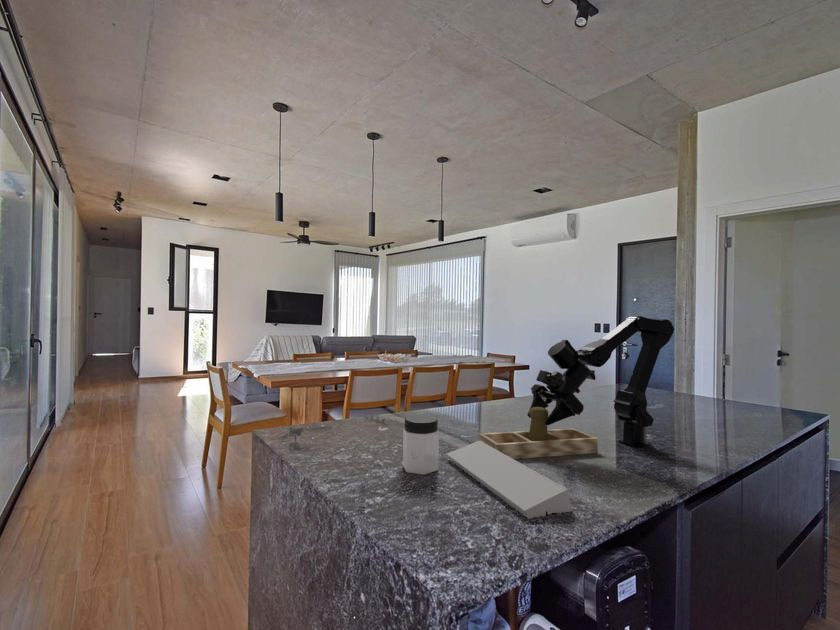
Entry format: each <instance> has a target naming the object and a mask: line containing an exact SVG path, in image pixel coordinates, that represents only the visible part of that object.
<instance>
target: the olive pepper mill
mask: <svg viewBox="0 0 840 630" xmlns="http://www.w3.org/2000/svg"><path fill="white" fill-rule="evenodd" d="M529 409H530V408H529ZM528 412H529V415H530V417H531V418H530V425H529V430H528V431H529V437H528V439H529V440H531V441H546V440H549V439H548V431H547V430H548V425H546V424H545V421H546V420H547V418H548V417H549V411H548V409H547V408H542V407H533V408H531V409H530V411H529V410H528Z"/></svg>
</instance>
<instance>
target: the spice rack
mask: <svg viewBox="0 0 840 630" xmlns="http://www.w3.org/2000/svg"><path fill="white" fill-rule="evenodd" d="M547 431H548V439H549V440H546V441H531V440H529V439H528V437H529V430H523V431H505V432H504V431H502V432H501V431H500V432H486V433H478V437H479V438H478V441H479V440H480V441H482V442H483V443H485V444H487V445H489V446H491V447H492V448H494V449H496V450H498V451H500V452H501V453H503V454H505V455H507V456H509V457H510V458H512V459H514V460H519V458H521V459H530V458H543V457H559V456H561V457H562V456H572V455H586V454H597V453H599V452H598V449H599V440H598V439H599V438H598V437H596V436H592V435H591V434H589V433H586V432H583V431H581V430H578V429H576V428H558V429H555V428H554V429H547Z"/></svg>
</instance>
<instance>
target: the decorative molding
mask: <svg viewBox="0 0 840 630" xmlns="http://www.w3.org/2000/svg"><path fill="white" fill-rule="evenodd" d="M446 456H447V458H448V460H449V461H450V462H451V463H452V464H453V465H455V464H456V465H455V466H457V467H458V468H459V467H460V468H459V469H461V470H462V471H463V470H464V471H463V472H464V473H466V474H467V473H468V474H467V475H469V476H470V477H471V476H472V478H473V479H474V480H475V479H476V480H475V481H477V482H478V483H479V482H480V483H479V484H481V485H482V486H483V485H484V486H483V487H485V488H486V487H487V488H486V489H487V490H489V491H490V492H491V493H493V494H494V495H495V496H497V497H498V498H499V499H501V500H502V499H503V500H502V501H504V502H505V503H506V504H508V505H509V506H511V508H513V509H514V508H515V509H514V510H516V511H517V512H518V511H519V512H518V513H520V514H521V515H522V516H524V517H525V518H526V517H527V518H526V519H528V520H529V519H530V520H531V519H533V518H541V517H540V516H542V517H546V515H548V516H549V515H551V514H553V513H554V514H563V513H569V512H572V505H571V499H570V496H569V491H568V490H569V489H568V488H566V487H565V486H562V485H560V484H559V483H557V482H555V481H553V480H551V479H550V478H548V477H546V476H544V475H542V474H541V473H539V472H537V471H535V470H534V469H532V468H531V467H528V466H527V465H525V464H523V463H521V462H519V461H517V459H512V458H510V457H509V456H507V455H505V454H503V453H501V452H500V451H498V450H496V449H494V448H492V447H491V446H489V445H487V444H485V443H483V442H482V441H480V440H479V439H478V441H475V442H472V443H469V444H467V445H466V446H463V447H462V446H461V447H460V448H458V449H454V450H453V451H450V452H447V453H446ZM562 512H563V513H562Z"/></svg>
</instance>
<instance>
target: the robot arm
mask: <svg viewBox="0 0 840 630" xmlns="http://www.w3.org/2000/svg"><path fill="white" fill-rule="evenodd" d="M637 332H639V333H640V339H641V341H642V346H641V348H640V351H639V352H638V353H639V354H638V356H637V359H636V362H635V365H634V368H633V371H632V374H631V377H630V379H629V383H628V384H627V387H626V388H625V389H624V390H621V389H618V390H617V392H616V396H615V398H614V399H613V403H614V404H613V409H614V411H615V413H616V416H617V420H618V421H623V428H622V439H618V442H619V443H622V444H626V445H628V446H633V447H637V448H639V447H645V446H646V447H647V446H650V445H652V444H651V442H649V441H646V440H647V438H646V437H647V436H646V434H647V428H649V427H652V426H653V423H654V420H655V419H654V418H653V417H652V416H651V414H650V413H649V411H647V407H648V400H647V395H646V391H647V389H648V385H649V382H650V381H651V378H652V377H651V376H652V374H653V372H654V369H655V366H656V363H657V360H658V357H659V354H660V352H661V349H662V348H663V347H665V346H666V345H667V344H668V343H669V342H670V340H671V338H672V337H673V335H674V332H675V328H674V325H673V323H672V321H671V320H669V319H667V318H666V319H665V318H664V319H663V318H662V319H661V318H659V319H658V318H655V319H653V318H648V317H644V316H641V315H629V316H628V317H626V319H625V320H624V321H622V322H621V323H620V324H618V325H617V326H615V328H613V329H612V330H611V331H609V332H608V333H606V335H604V336H603V337H602V338H600V339H598V340H596V341H593V342H589V343H587V344H585V345H584V346H581V347H580V348H579V349H578V350H577V349H575V348H574V347H573V346H572V344H571V343H570V341H569V340H568V339H561V341H560V342H557V343H555V344H554V345H551V347H550V348H549V349H548V351H547V355H548V356H549V357H550V358H551V360H552V361H553V362H554V363H555V364H556V365H557V367H559V368H560V370H565V371H564V372H563V373H562V372H560V371H556V370H555V371H553V372H549V371H547V370H542V369H541V370H539V372H538V375H537V376H536V380H535V381H537V382H541V383H542V384H545V385H546V386H545V385H542V384H534V385H532V387H531V388H530V391H531V394H532V397H533V399H532V403H531V405H530V407H529V409H528V412H527V417H528V419H529V418H530V419H531V417H530V415H529V411H530V409H531V408H533V407H542V408H545V409H547V408H548V407H549V406H550V404H551V403H553V402H555V406H554V408H553V409H552V411H551V413H549V414H548V418H547V420H546V421H545V424H546V425H547V426H550V425H552V424H555V423H557V422H559V421H562V420H565V419H567V418H570V417H575V416H577V415H578V416H580V415H581V414H582V413H583V412H584V409H585V408H584V407H585V406H584V404H583V403H582V401H581V400H579V398H578V397H577V396H576V395H575V394H579V393H580V392H581V390H580V389H579V388H581V386H582V384H584V382H585V381H586V380H593V381H595V380H597V378H596V373H595V372H596V371H595V370H593V369H591V368H589V367H595V368H601V367H603V366H604V365H605V364H606V363H607V362H608V361H609V360H610V359H611V356H612V353H613V352H614V351H615V350H616V349H617V348H619V347H620V346H621V345H622V344H623V343H625V342H626V341H627V340H629V339H630V338H631V337H633V336H634V335H635V334H636V333H637Z"/></svg>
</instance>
